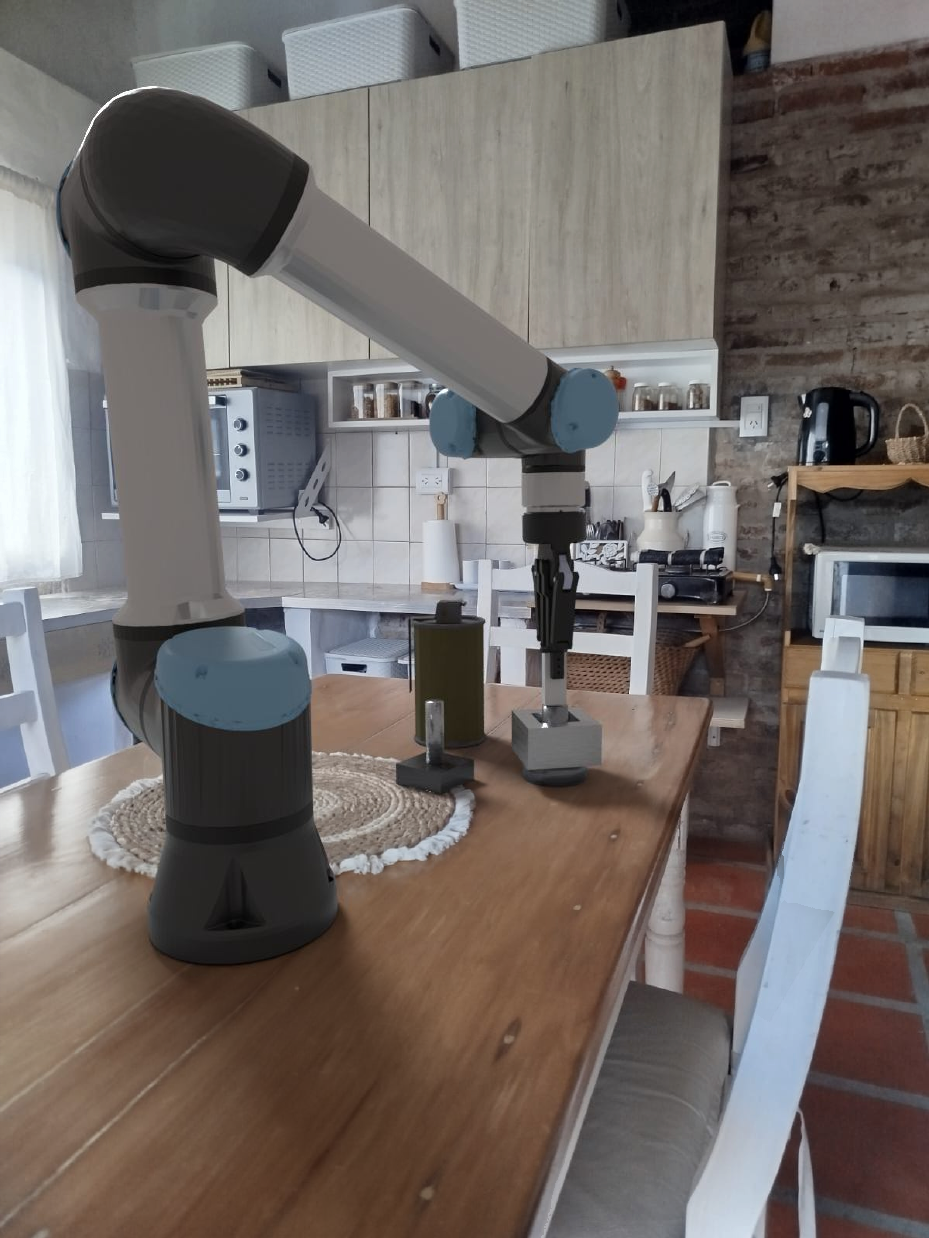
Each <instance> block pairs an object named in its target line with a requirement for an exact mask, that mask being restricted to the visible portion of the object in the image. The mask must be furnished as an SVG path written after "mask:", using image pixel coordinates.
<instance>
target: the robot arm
mask: <svg viewBox="0 0 929 1238" xmlns="http://www.w3.org/2000/svg"><path fill="white" fill-rule="evenodd" d="M313 169H314V168H313V166H312V165H311V164H310V163H308V162H307V161H306V160H305V159H303V158H302V157H301V156H299V155H298V154H297V153H295V152H294V151H293V150H291V149H290V148H288V147H287V146H286V145H284V144H283V143H281V142H280V141H279V140H277V139H276V138H274V137H273V136H272V135H270V134H269V133H267V132H266V131H264V130H263V129H261V128H260V127H258V126H257V125H255V124H254V123H253V122H250V121H249V120H247V119H246V118H243V116H240V115H238V114H237V113H236V112H234V111H231V110H230V109H228V108H227V107H224V106H222V105H220V104H217V103H215V102H214V101H212V100H210V99H207V98H205V97H203V96H201V95H198V94H194V93H191V92H189V91H185V90H183V89H177V88H170V87H164V86H146V87H139V88H135V89H132V90H129V91H124V92H121V93H120V94H119V95H117V96H114V97H113V98H112V99H111V100H110V101H108V102H107V103H106V104H105V105H103V106H102V108H100V110H99V111H98V112H97V114H96V115H95V116H94V117H93V119H92V121H91V123H90V125H89V126H88V129H87V131H86V134H85V137H84V139H83V141H82V142H81V144H80V147H79V149H78V151H77V153H76V155H74V157H73V158H72V159H71V160H70V161H69V162H68V164H67V166H66V167H65V169H64V171H63V173H62V175H61V179H60V181H59V183H58V186H57V191H56V198H55V219H56V220H55V221H56V225H57V231H58V235H59V238H60V241H61V243H62V245H63V249H64V250H65V252H66V254H67V256H68V258H69V259H70V261H71V269H72V277H73V278H72V279H73V285H74V294H75V299H76V300H75V301H76V303H77V304H78V305H79V306H80V307H82V308H83V309H84V310H85V311H86V312H87V313H88V314H89V315H90V316H92V318H94V320H95V322H96V323H97V325H98V334H99V343H100V352H101V353H100V354H101V363H102V373H103V379H104V382H103V383H104V389H105V397H106V398H105V399H106V408H107V418H108V427H109V436H110V443H111V445H110V446H111V453H112V454H111V456H112V461H113V462H112V464H113V472H114V481H115V482H114V484H115V490H116V500H117V507H118V510H117V511H118V518H119V527H120V528H119V529H120V536H121V537H120V538H121V544H122V545H121V546H122V555H123V556H122V557H123V564H124V571H125V581H126V582H125V583H126V590H127V591H126V592H127V598H126V600H125V602H124V603H123V605H122V606H121V607H120V608H119V609H118V610H117V611H116V612H115V614H113V616H112V617H111V619H112V621H111V622H112V631H113V640H114V649H115V658H114V660H113V663H112V667H111V671H110V676H109V693H110V695H111V701H112V705H113V708H114V710H115V713H116V715H117V716H118V718H119V720H120V721H121V722H122V724H123V726H124V727H126V729H127V730H128V732H129V733H130V734H132V735H133V737H135V738H136V739H138V740H139V741H141V742H142V743H143V744H145V745H146V746H147V747H148V748H149V749H150V750H151V751H152V752H153V753H155V754H156V755H157V756H158V757H159V758H160V760H161V766H162V767H161V769H162V784H163V800H164V801H163V803H164V817H165V839H164V844H163V847H162V851H161V853H160V858H159V862H158V866H157V871H156V874H155V878H154V883H153V886H152V887H153V888H152V890H151V893H150V895H149V897H148V901H147V909H146V910H147V911H146V913H147V916H146V917H147V930H148V932H147V933H148V937H149V940H150V942H151V943H152V945H153V946H154V947H155V948H156V949H157V950H158V951H161V952H162V953H163V954H166V955H167V956H169V957H171V958H175V959H178V960H181V961H185V962H190V963H196V964H205V965H206V964H209V965H228V964H229V965H230V964H240V963H241V964H242V963H248V962H256V961H260V960H264V959H269V958H273V957H277V956H280V955H283V954H285V953H288V952H292V951H293V950H296V949H297V948H300V947H303V946H304V945H307V944H309V943H311V942H312V941H313V940H316V938H319V936H320V935H322V934H323V933H324V932H326V930H328V929H329V928H330V926H331V925H332V924H333V922H334V921H335V920H336V917H337V915H338V909H339V904H338V903H339V902H338V882H337V879H336V875H335V872H334V870H333V869H332V868H331V865H330V862H329V858H328V855H327V851H326V850H325V846H324V843H323V841H322V838H321V837H320V834H319V831H318V828H317V825H316V821H315V816H314V814H315V813H314V787H313V783H314V782H313V781H314V780H313V750H312V749H313V745H312V744H313V743H312V742H313V741H312V710H311V709H312V705H311V700H312V694H313V687H312V686H313V685H312V680H311V678H310V677H311V676H310V671H309V664H308V657H307V654H306V651H305V650H304V647H302V646H301V644H300V643H299V642H298V641H297V640H295V639H294V638H293V637H290V636H289V635H286V634H284V633H281V632H279V631H275V630H271V629H258V628H257V627H251V626H247V622H246V620H247V619H246V610H245V606H244V605H243V604H242V603H241V602H240V601H238V600H237V599H236V598H235V597H233V595H231V594H230V592H228V590H227V586H226V575H225V563H224V552H223V543H222V542H223V540H222V530H221V520H220V508H219V507H220V506H219V496H218V486H217V475H216V465H215V464H216V462H215V454H214V453H215V452H214V442H213V440H214V439H213V430H212V421H211V408H210V407H211V406H210V396H209V386H208V385H209V384H208V373H207V364H206V352H205V351H206V350H205V342H204V331H203V324H204V322H205V321H206V319H207V318H208V317H209V316H210V315H211V313H212V312H213V311H214V310H215V309H216V308H217V307H218V305H219V299H218V289H217V277H216V265H215V260H218V261H219V262H222V263H225V264H227V265H228V266H230V267H232V268H234V269H235V270H236V271H238V272H240V273H241V274H243V275H245V276H247V277H248V278H250V279H255V278H260V277H264V276H271V277H272V278H273V279H276V280H277V281H278V282H281V283H282V284H284V285H285V286H287V287H288V288H289V289H291V290H293V291H294V292H295V293H298V294H299V295H300V296H302V297H304V298H305V299H307V300H309V301H310V302H312V303H314V305H317V306H318V307H319V308H321V309H322V310H324V311H326V312H327V313H328V314H330V315H332V316H333V317H335V318H337V319H338V320H340V321H341V322H343V323H345V324H346V325H347V326H349V327H351V328H352V329H354V330H356V331H357V332H358V333H360V334H362V335H364V336H365V337H366V338H369V339H370V340H371V341H373V342H374V343H376V344H377V345H379V346H381V347H382V348H384V349H385V350H386V351H388V352H390V353H392V354H393V355H395V356H396V357H398V358H399V359H401V360H403V361H404V362H405V363H407V364H409V365H410V366H411V367H413V368H415V369H417V370H418V371H420V372H421V373H423V374H425V375H426V376H428V377H429V378H430V379H432V380H434V381H435V382H437V383H438V384H440V385H442V386H443V387H444V388H443V389H442V390H440V391H439V392H438V393H437V394H436V396H435V397H434V399H433V401H432V404H431V406H430V409H429V410H430V411H429V415H428V416H429V417H428V421H429V422H428V423H429V436H430V439H431V443H432V445H433V446H434V448H435V449H436V451H437V452H438V453H440V454H441V455H442V456H444V457H447V458H457V459H458V458H459V459H463V460H469V459H520V460H521V506H522V507H523V508H526V512H523V515H521V521H522V523H521V524H522V525H521V529H522V531H521V533H522V541H523V542H524V543H525V544H528V545H529V544H530V545H538V546H537V547H538V548H537V557H536V558H534V561H533V563H534V564H531V568H530V572H531V575H532V582H533V595H534V609H535V625H536V626H535V627H536V641H537V642H540V643H539V646H540V647H539V652H540V653H541V703H542V704H544V705H558V704H567V699H568V697H567V695H568V694H567V690H568V689H567V677H568V676H567V666H568V665H567V662H568V661H567V659H568V658H567V653H568V651H569V650H572V649H573V646H574V642H573V641H574V629H575V628H574V627H575V615H576V614H575V613H576V604H577V603H576V601H577V600H576V599H577V590H578V586H579V581H580V574H579V572H578V571H575V561H574V559H573V558H572V553H571V548H570V547H571V544H580V543H583V542H585V540H586V532H587V531H586V520H587V519H586V513H585V512H584V511H581V507H584V506H585V505H586V490H588V489H589V488H590V482H589V481H587V480H586V454H587V453H586V450H589V449H590V450H591V449H594V448H598V447H599V446H601V445H603V444H604V443H605V442H607V441H608V439H610V437H611V436H612V434H614V433H613V432H614V431H615V428H616V426H617V422H618V419H619V415H620V402H619V397H618V393H617V389H616V387H615V385H614V384H613V381H612V380H611V379H610V377H608V376H607V375H606V374H605V373H604V372H602V371H601V370H598V369H595V368H589V367H588V368H582V367H573V368H570V370H567V368H566V369H565V368H564V367H562V366H561V365H559V364H558V363H556V362H555V361H554V360H552V359H551V358H550V357H548V356H547V355H545V354H544V353H542V352H541V351H540V350H539V349H538V348H535V347H534V346H533V345H531V344H530V342H528V341H526V340H525V339H524V338H522V337H521V336H519V334H517V333H515V332H514V331H513V330H512V329H510V328H508V326H506V325H504V324H503V323H502V322H501V321H499V320H498V319H497V318H495V317H494V316H492V315H491V314H490V313H488V312H487V311H486V310H485V309H483V308H481V307H480V306H479V305H477V304H476V302H473V301H472V300H471V299H469V298H468V297H467V296H465V295H464V294H462V293H461V292H460V291H458V290H457V289H456V288H454V287H453V286H452V285H450V284H449V283H448V282H446V281H445V280H443V279H442V277H439V275H436V274H435V273H434V272H433V271H431V270H430V269H429V268H427V267H426V266H424V265H423V263H420V262H419V261H418V260H416V259H415V258H414V257H412V256H411V255H410V254H408V253H407V252H406V251H404V249H403V250H402V249H401V248H400V247H399V246H398V245H396V244H394V242H392V241H391V240H389V239H388V238H387V237H385V236H384V235H382V234H381V233H380V232H379V231H377V230H376V229H374V228H373V227H371V225H369V224H368V223H366V221H364V220H362V219H361V218H359V217H358V216H357V215H355V214H354V213H352V212H351V211H350V210H348V209H347V208H346V207H344V206H343V205H342V204H341V203H339V202H338V201H336V200H335V199H333V198H332V197H331V196H329V194H327V193H325V191H323V190H321V189H320V187H318V185H317V182H316V179H315V174H314V170H313ZM567 705H568V704H567Z"/></svg>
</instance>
